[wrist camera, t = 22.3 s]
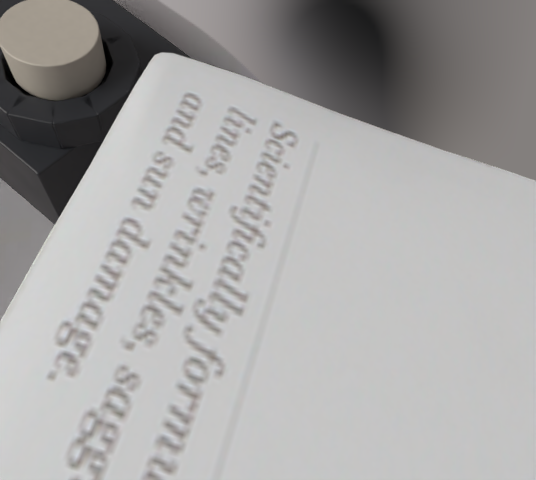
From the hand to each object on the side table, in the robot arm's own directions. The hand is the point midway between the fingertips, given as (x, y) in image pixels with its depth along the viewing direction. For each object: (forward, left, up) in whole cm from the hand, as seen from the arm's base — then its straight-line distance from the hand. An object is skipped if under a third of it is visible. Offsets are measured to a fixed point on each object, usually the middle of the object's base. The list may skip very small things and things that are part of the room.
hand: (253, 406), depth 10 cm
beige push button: (+10, -14, -6) cm, 18 cm away
